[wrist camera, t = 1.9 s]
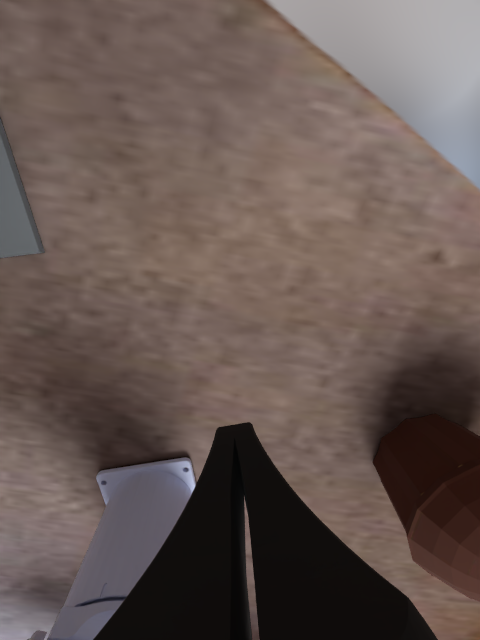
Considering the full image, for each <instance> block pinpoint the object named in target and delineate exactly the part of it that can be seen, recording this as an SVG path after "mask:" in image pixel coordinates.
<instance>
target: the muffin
mask: <svg viewBox="0 0 480 640" xmlns="http://www.w3.org/2000/svg"><path fill="white" fill-rule="evenodd" d="M373 464H374V466H375V468H376V470H377V472H378V474H379V476H380V478H381V482H382V484H383V486H384V488H385V490H386V492H387V494H388V496H389V498H390V500H391V502H392V504H393V506H394V508H395V510H396V512H397V514H398V517H399V519H400V521H401V523H402V525H403V527H404V529H405V531H406V533H407V539H408V543H409V547H410V551H411V555H412V559H413V561H414V562H416V563H417V564H418V565H419V566H421V567H422V568H423V569H424V570H426V571H427V572H428V573H429V574H431V575H432V576H435V577H436V578H438V579H439V580H441V581H443V582H444V583H446V584H447V585H449V586H450V587H452V588H454V589H455V590H457V591H459V592H460V593H462V594H464V595H465V596H467V597H469V598H471V599H474V600H477V601H480V436H478V435H476V434H475V433H473V432H471V431H469V430H467V429H466V428H464V427H462V426H460V425H459V424H457V423H454V422H451V421H448V420H445V419H444V418H442V417H440V416H439V415H437V414H431V415H427V416H424V417H419V418H410V419H405V420H404V421H403V422H402V423H401V424H400V425H399V426H397V427H396V428H395V429H394V430H393V431H391V432H390V433H388V434H387V435H385V436H384V437H382V438H381V442H380V446H379V450H378V452H377V454H376V456H375V459H374V461H373Z"/></svg>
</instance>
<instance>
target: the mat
mask: <svg viewBox="0 0 480 640" xmlns="http://www.w3.org/2000/svg"><path fill="white" fill-rule="evenodd" d="M37 253H45V251H44V248H43V245H42V242H41V239H40V236H39V233H38V230H37V227H36V224H35V221H34V218H33V215H32V212H31V209H30V206H29V203H28V200H27V197H26V194H25V191H24V188H23V185H22V182H21V179H20V176H19V173H18V170H17V167H16V164H15V160H14V157H13V154H12V151H11V148H10V145H9V142H8V139H7V136H6V133H5V130H4V127H3V124H2V121H1V118H0V258H5V257H13V256H21V255H29V254H37Z"/></svg>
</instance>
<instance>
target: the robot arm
mask: <svg viewBox="0 0 480 640" xmlns="http://www.w3.org/2000/svg"><path fill="white" fill-rule="evenodd" d="M185 467H186V468H187V469H186V468H185ZM96 479H97V482H98V485H99V487H100V490H101V493H102V496H103V498H104V501H105V504H106V508H105V510H104V513H103V515H102V517H101V520H100V522H99V524H98V527H97V529H96V531H95V534H94V536H93V538H92V541H91V543H90V545H89V548H88V550H87V552H86V555H85V557H84V559H83V561H82V564H81V566H80V568H79V571H78V573H77V575H76V578H75V580H74V582H73V585H72V587H71V589H70V592H69V594H68V596H67V599H66V601H65V603H64V606H63V607H62V608H61V610H60V612H59V614H58V616H57V619H56V621H55V623H54V625H53V628H52V630H51V632H50V634H49V637H48V639H47V640H252V632H251V622H250V612H249V601H248V591H247V578H246V555H245V514H244V497H245V502H246V507H247V512H248V517H249V527H250V538H251V548H252V559H253V570H254V581H255V592H256V603H257V615H258V627H259V638H260V640H438V639H437V638H436V636H435V635H434V633H433V632H432V630H431V629H430V627H429V626H428V624H427V623H426V621H425V620H424V619H423V617H422V616H421V614H420V613H419V612H418V610H417V609H416V607H415V606H414V605H413V603H412V602H411V601H410V599H409V598H408V597H407V596H406V595H404V594H403V593H402V592H401V591H399V590H398V589H397V588H396V587H394V586H393V585H392V584H391V583H389V582H388V581H387V580H386V579H384V578H383V577H382V576H381V575H380V574H378V573H377V572H376V571H375V570H374V569H372V568H371V567H370V566H369V565H368V564H367V563H365V562H364V561H363V560H362V559H361V558H360V557H359V556H358V555H356V554H355V553H354V552H353V551H352V550H351V549H350V548H348V547H347V546H346V545H345V544H344V543H343V542H342V541H341V540H340V539H339V538H338V537H337V536H336V535H335V534H334V533H333V532H332V531H331V530H330V529H329V528H328V527H327V526H326V525H325V524H324V523H323V522H322V521H320V520H319V518H318V517H317V516H316V515H315V514H314V513H313V512H312V511H311V510H310V509H309V508H308V507H307V506H306V504H305V503H304V502H303V501H302V500H301V499H300V498H299V496H298V495H297V494H296V493H295V492H294V490H293V489H292V488H291V487H290V486H289V484H288V483H287V482H286V480H285V479H284V478H283V476H282V475H281V474H280V472H279V471H278V470H277V468H276V467H275V465H274V464H273V462H272V461H271V459H270V458H269V456H268V455H267V453H266V452H265V450H264V448H263V447H262V445H261V443H260V441H259V439H258V437H257V435H256V433H255V431H254V428H253V425H252V424H251V423H250V422H248V423H242V424H236V425H230V426H224V427H219V428H218V429H217V430H216V434H215V437H214V441H213V444H212V447H211V450H210V453H209V456H208V458H207V461H206V463H205V465H204V468H203V470H202V473H201V475H200V477H199V479H198V482H197V484H196V482H195V477H194V473H193V468H192V463H191V460H190V459H189V458H187V457H184V458H178V459H171V460H165V461H159V462H152V463H146V464H140V465H133V466H127V467H121V468H114V469H108V470H102V471H100V472H99V473H98V474H97V477H96ZM46 633H47V632H44V631H36V632H35V633H34V634H33V635H32V637H31V638H30V639H27V640H44V638H45V635H46Z"/></svg>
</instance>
